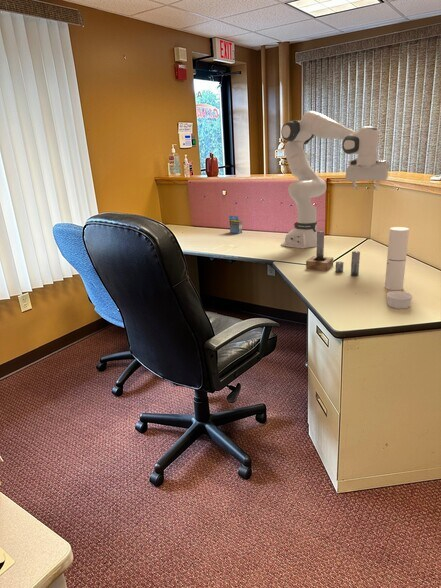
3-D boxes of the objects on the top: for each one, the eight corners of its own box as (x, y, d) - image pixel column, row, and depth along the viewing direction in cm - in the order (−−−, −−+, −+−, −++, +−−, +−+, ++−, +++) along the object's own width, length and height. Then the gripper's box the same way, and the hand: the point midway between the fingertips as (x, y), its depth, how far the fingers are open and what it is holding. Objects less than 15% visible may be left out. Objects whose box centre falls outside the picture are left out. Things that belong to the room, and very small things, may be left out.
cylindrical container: (394, 291, 171) (400, 231, 162) (380, 286, 177) (385, 228, 168) (406, 287, 174) (413, 228, 165) (392, 283, 180) (398, 226, 171)
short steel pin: (334, 272, 199) (335, 263, 198) (336, 270, 202) (337, 261, 201) (341, 272, 198) (342, 263, 196) (343, 270, 201) (344, 262, 199)
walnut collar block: (306, 268, 207) (306, 260, 206) (313, 263, 215) (313, 255, 214) (326, 270, 202) (327, 263, 200) (333, 265, 210) (333, 257, 209)
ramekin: (385, 308, 155) (386, 297, 153) (385, 300, 162) (386, 290, 161) (411, 310, 152) (413, 299, 150) (410, 302, 159) (411, 291, 158)
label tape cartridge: (242, 232, 297) (241, 215, 293) (239, 233, 295) (238, 216, 290) (233, 231, 303) (232, 214, 299) (229, 232, 300) (228, 215, 296)
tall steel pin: (315, 267, 208) (315, 231, 202) (317, 265, 211) (318, 230, 205) (322, 268, 206) (322, 232, 200) (324, 266, 209) (325, 230, 203)
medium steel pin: (349, 275, 193) (351, 252, 189) (351, 273, 196) (353, 250, 192) (357, 276, 191) (358, 253, 188) (359, 274, 194) (360, 251, 190)
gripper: (390, 160, 204) (388, 188, 209) (348, 161, 214) (347, 188, 219) (388, 160, 199) (385, 190, 204) (345, 161, 209) (343, 190, 214)
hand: (365, 189), depth 211 cm, fingers open, 8 cm apart
